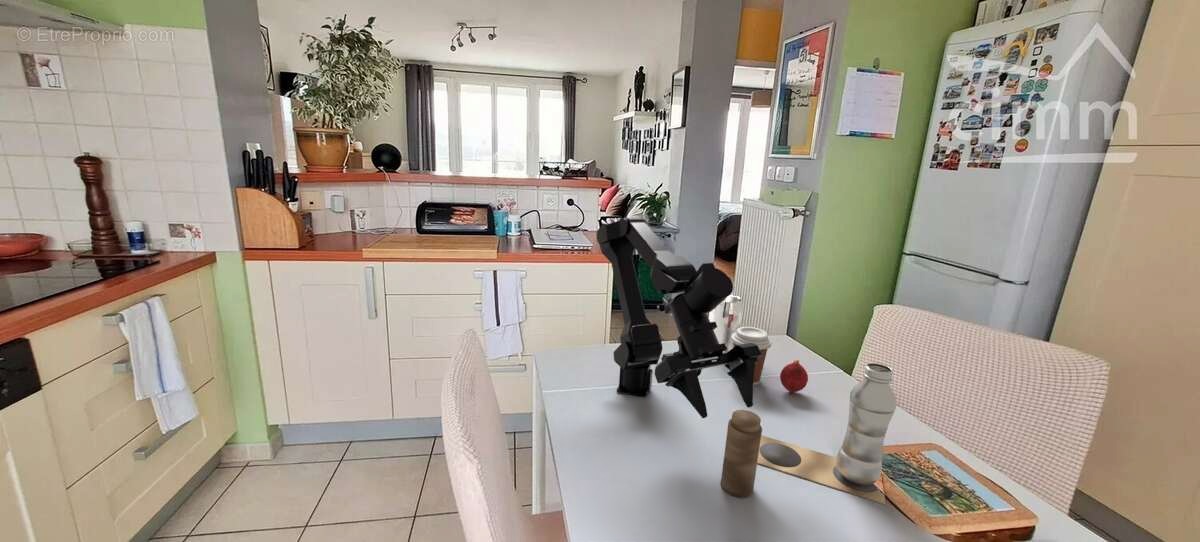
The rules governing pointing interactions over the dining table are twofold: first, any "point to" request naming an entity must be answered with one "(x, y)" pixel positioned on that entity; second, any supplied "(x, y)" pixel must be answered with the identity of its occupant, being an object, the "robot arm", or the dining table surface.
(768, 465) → the board
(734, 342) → the coffee cup
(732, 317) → the white pump bottle
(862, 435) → the plastic bottle
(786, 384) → the onion
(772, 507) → the dining table surface
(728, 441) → the pepper mill
